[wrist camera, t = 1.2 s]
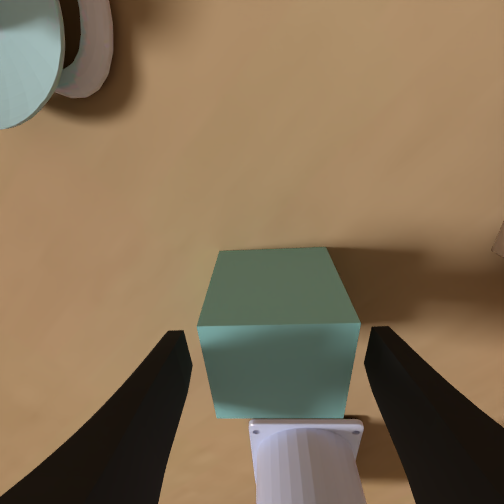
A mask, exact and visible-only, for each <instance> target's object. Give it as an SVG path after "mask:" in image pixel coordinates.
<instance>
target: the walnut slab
mask: <svg viewBox="0 0 504 504" xmlns="http://www.w3.org/2000/svg"><path fill="white" fill-rule="evenodd" d="M492 251H493V252H495V253H496V254H498V255H500V256H501V257H503V258H504V222H503V224H502V227H501V229H500V231H499V233H498V236H497V238H496V240H495V243H494V245H493V247H492Z"/></svg>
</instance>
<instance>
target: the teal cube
mask: <svg viewBox="0 0 504 504" xmlns="http://www.w3.org/2000/svg"><path fill="white" fill-rule="evenodd" d="M360 325H361V322H360V320H359V318H358V316H357V313H356V311H355V309H354V307H353V305H352V303H351V300H350V298H349V296H348V294H347V292H346V290H345V287H344V285H343V283H342V281H341V279H340V277H339V274H338V272H337V270H336V268H335V266H334V264H333V262H332V259H331V257H330V255H329V253H328V251H327V249H326V247H312V248H286V249H260V250H233V251H219V254H218V257H217V261H216V264H215V267H214V271H213V274H212V277H211V281H210V284H209V287H208V291H207V294H206V297H205V301H204V304H203V307H202V311H201V314H200V317H199V321H198V324H197V330H198V335H199V339H200V344H201V348H202V353H203V357H204V362H205V366H206V371H207V375H208V380H209V385H210V389H211V394H212V398H213V403H214V407H215V412H216V416H217V418H343V417H344V412H345V407H346V401H347V396H348V390H349V385H350V379H351V374H352V369H353V363H354V358H355V352H356V347H357V342H358V336H359V331H360Z"/></svg>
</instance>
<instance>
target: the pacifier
mask: <svg viewBox="0 0 504 504" xmlns="http://www.w3.org/2000/svg"><path fill="white" fill-rule="evenodd" d="M78 5H79V10H80V23H81V38H80V46H79V51H78V53H77V55H76V57H75V59H74V61H73V63H72V64H70V65H69V66H68V67H66V68H65V69H63V63H64V55H65V34H64V23H63V17H62V11H61V7H60V2H59V0H0V129H8V128H12V127H15V126H18V125H21V124H23V123H24V122H26V121H28V120H29V119H31V118H32V117H33V116H35V115H36V114H37V113H38V112H39V111H40V110H41V109H42V108H43V107H44V105H45V104H46V103H47V102H48V100H49V99H50V98H51V96H52V94H53V93H54V92H55V93H58V94H61V95H64V96H67V97H69V98H86V97H88V96H90V95H92V94H93V93H95V92H96V91H98V90H99V89H100V88H101V86H102V84H103V83H104V81H105V79H106V78H107V76H108V74H109V70H110V65H111V60H112V55H113V21H112V15H111V9H110V3H109V0H78Z"/></svg>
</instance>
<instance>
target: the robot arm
mask: <svg viewBox="0 0 504 504" xmlns="http://www.w3.org/2000/svg"><path fill="white" fill-rule="evenodd" d="M364 365H365V369H366V373H367V376H368V380H369V383H370V386H371V389H372V392H373V395H374V397H375V400H376V402H377V405H378V407H379V409H380V412H381V414H382V417H383V419H384V421H385V424H386V426H387V429H388V431H389V433H390V436H391V438H392V441H393V443H394V445H395V448H396V450H397V452H398V455H399V457H400V460H401V462H402V465H403V467H404V470H405V473H406V475H407V478H408V481H409V484H410V487H411V490H412V493H413V497H414V500H415V503H416V504H504V428H503V427H502V426H501V425H499V424H498V423H497V422H495V421H494V420H493V419H492V418H490V417H489V416H488V415H487V414H485V413H484V412H483V411H482V410H480V409H479V408H478V407H477V406H476V405H474V404H473V403H472V402H471V401H470V400H468V399H467V398H466V397H465V396H464V395H462V394H461V393H460V392H459V391H458V390H457V389H455V388H454V387H453V386H452V385H451V384H450V383H449V382H447V381H446V380H445V379H444V378H443V377H442V376H441V375H440V374H439V373H437V372H436V371H435V370H434V369H433V368H432V367H431V366H430V365H429V364H428V363H427V362H426V361H424V360H423V359H422V358H421V357H420V356H419V355H418V354H417V353H416V352H415V351H414V350H413V349H412V348H411V347H410V346H409V345H408V344H407V343H406V342H405V341H403V340H402V339H401V338H400V337H399V336H398V335H397V334H396V333H395V332H394V331H393V330H392V329H391V328H390V327H389V326H378V327H372V328H371V333H370V338H369V342H368V347H367V351H366V356H365V360H364ZM192 366H193V365H192V361H191V357H190V353H189V350H188V346H187V342H186V338H185V334H184V330H178V331H168V332H167V333H166V334H165V335H164V336H163V337H162V339H161V340H160V341H159V342H158V344H157V345H156V346H155V347H154V348H153V350H152V351H151V352H150V353H149V355H148V356H147V357H146V358H145V359H144V361H143V362H142V363H141V364H140V365H139V366H138V368H137V369H136V370H135V371H134V372H133V373H132V375H131V376H130V377H129V378H128V379H127V380H126V381H125V383H124V384H123V385H122V386H121V387H120V388H119V389H118V390H117V391H116V392H115V393H114V394H113V395H112V397H111V398H110V399H109V400H108V401H107V402H106V403H105V404H104V405H103V406H102V407H101V408H100V409H99V410H98V411H97V412H96V413H95V414H94V415H93V416H92V417H91V418H90V419H89V420H88V421H87V422H86V423H85V424H84V425H83V426H82V427H81V428H80V429H79V430H78V431H77V432H76V433H75V434H74V435H72V436H71V437H70V438H69V439H68V440H67V441H66V442H65V443H64V444H62V445H61V446H60V447H59V448H58V449H57V450H56V451H55V452H54V453H52V454H51V455H50V456H49V457H48V458H47V459H46V460H44V461H43V462H42V463H41V464H40V465H39V466H37V467H36V468H35V469H34V470H33V471H32V472H30V473H29V474H28V475H27V476H25V477H24V478H23V479H22V480H20V481H19V482H18V483H17V484H15V485H14V486H13V487H12V488H11V489H9V490H8V491H7V492H6V493H4V494H3V495H2V496H1V497H0V504H158V501H159V497H160V492H161V487H162V482H163V478H164V473H165V469H166V465H167V461H168V458H169V454H170V451H171V447H172V444H173V441H174V437H175V434H176V431H177V427H178V424H179V421H180V417H181V414H182V410H183V407H184V404H185V400H186V397H187V393H188V388H189V383H190V377H191V371H192ZM363 430H364V426H363V422H362V421H361V420H359V419H252V420H251V421H250V422H249V433H250V441H251V449H252V457H253V466H254V474H255V482H256V484H257V486H256V504H367V503H366V499H365V495H364V492H363V488H362V484H361V480H360V477H359V473H358V469H357V465H356V457H357V453H358V449H359V445H360V441H361V437H362V434H363Z"/></svg>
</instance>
